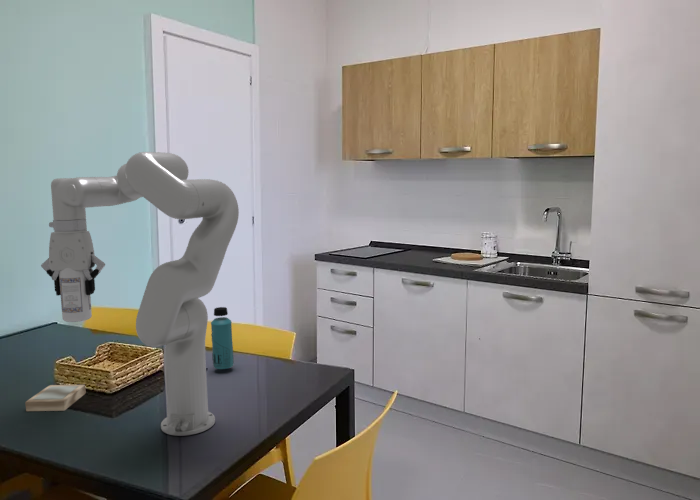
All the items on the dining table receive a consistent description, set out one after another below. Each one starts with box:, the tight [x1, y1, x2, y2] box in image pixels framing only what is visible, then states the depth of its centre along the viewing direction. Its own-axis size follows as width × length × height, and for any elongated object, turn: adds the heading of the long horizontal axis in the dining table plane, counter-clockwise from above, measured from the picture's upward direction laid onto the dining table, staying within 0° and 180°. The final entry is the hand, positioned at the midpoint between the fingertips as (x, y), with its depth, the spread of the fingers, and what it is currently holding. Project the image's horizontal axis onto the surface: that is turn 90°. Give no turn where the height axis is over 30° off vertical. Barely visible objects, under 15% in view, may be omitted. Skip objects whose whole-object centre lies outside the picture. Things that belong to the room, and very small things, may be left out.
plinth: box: [24, 384, 87, 412], centre depth 152 cm, size 12×10×3 cm
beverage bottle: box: [210, 306, 235, 370], centre depth 174 cm, size 6×7×20 cm
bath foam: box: [59, 268, 93, 323], centre depth 146 cm, size 7×7×20 cm
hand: (75, 293), depth 147 cm, fingers closed on bath foam, 7 cm apart
